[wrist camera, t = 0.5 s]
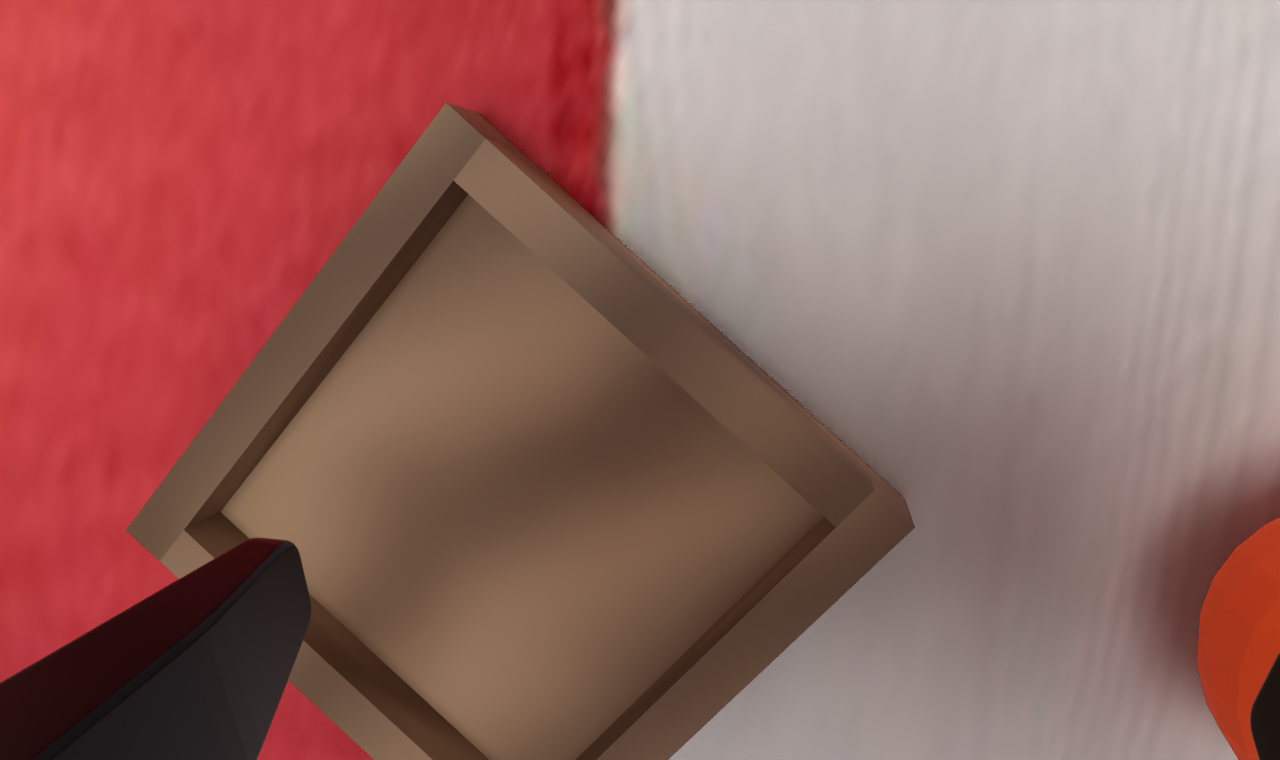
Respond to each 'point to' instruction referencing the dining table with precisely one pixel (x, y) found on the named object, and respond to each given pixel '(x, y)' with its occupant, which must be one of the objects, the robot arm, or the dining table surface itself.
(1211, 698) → the clementine
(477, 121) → the walnut dish
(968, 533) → the dining table surface
